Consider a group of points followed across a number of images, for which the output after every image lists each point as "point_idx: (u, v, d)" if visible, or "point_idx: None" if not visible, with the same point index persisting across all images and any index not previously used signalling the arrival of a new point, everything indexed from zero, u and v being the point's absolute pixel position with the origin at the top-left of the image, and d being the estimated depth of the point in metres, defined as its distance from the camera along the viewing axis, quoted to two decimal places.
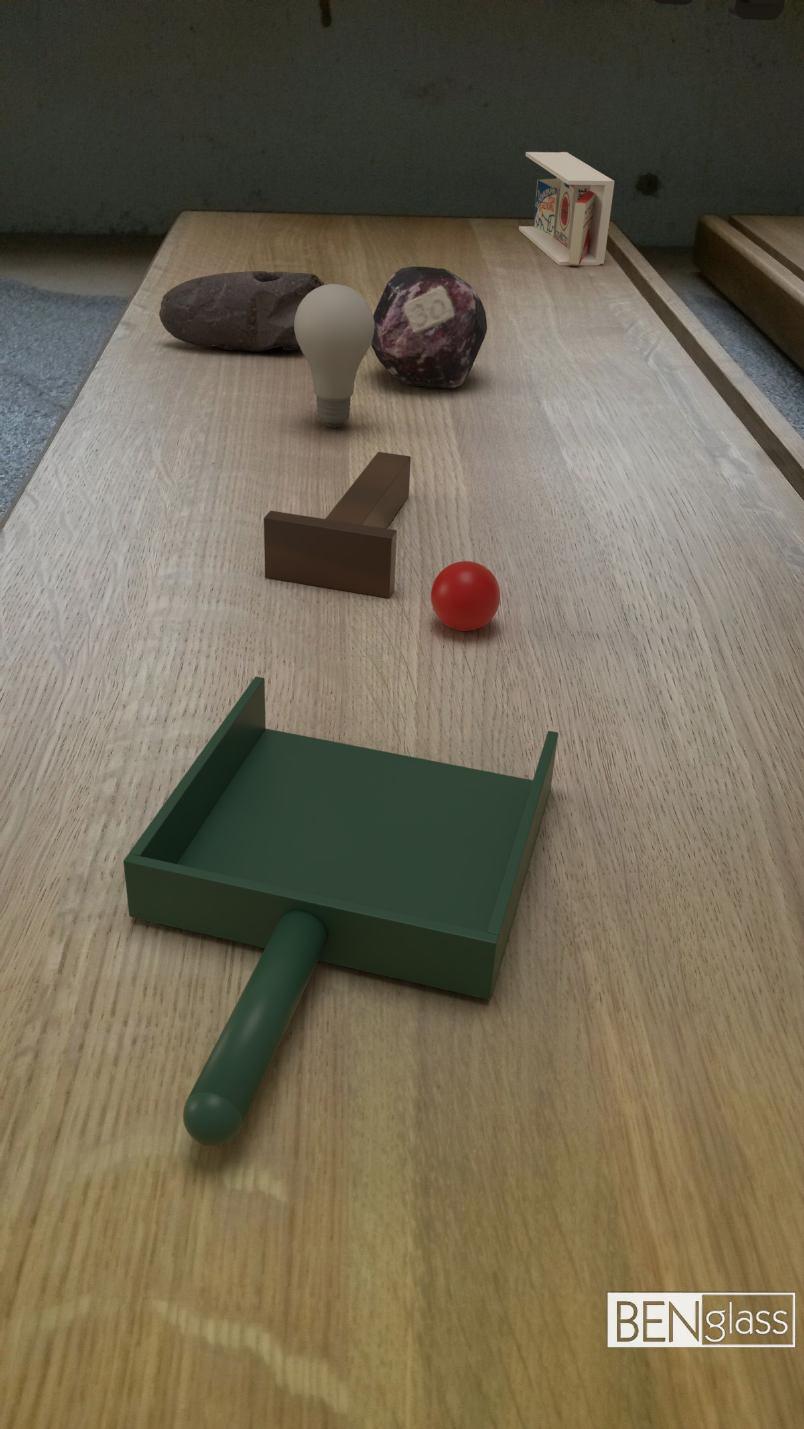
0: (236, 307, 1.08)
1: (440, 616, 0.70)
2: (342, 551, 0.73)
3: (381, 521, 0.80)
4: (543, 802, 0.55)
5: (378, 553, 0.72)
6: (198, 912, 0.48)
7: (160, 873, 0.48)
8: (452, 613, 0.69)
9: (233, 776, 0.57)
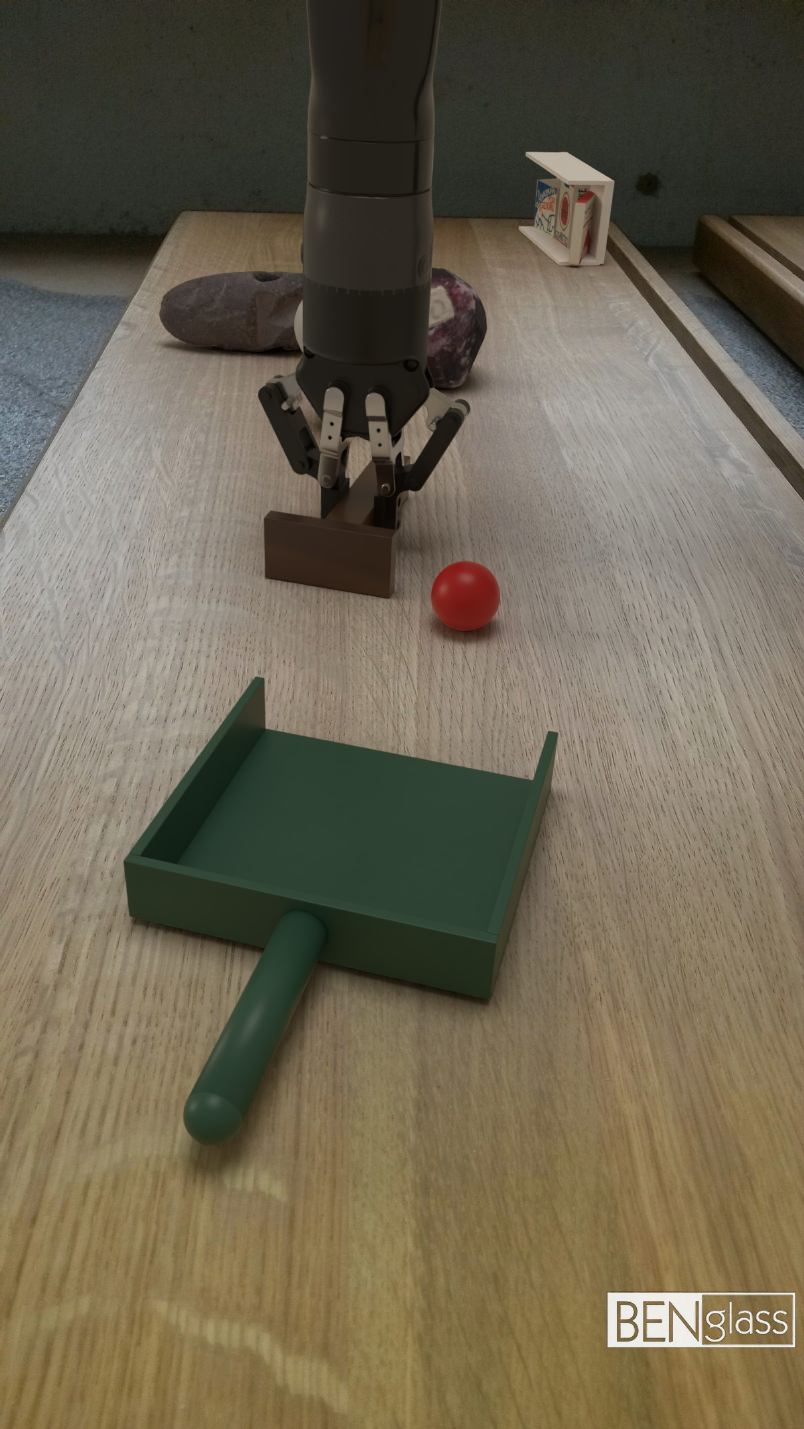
0: (236, 307, 1.08)
1: (440, 616, 0.70)
2: (342, 551, 0.73)
3: None
4: (543, 802, 0.55)
5: (378, 553, 0.72)
6: (198, 912, 0.48)
7: (160, 873, 0.48)
8: (452, 613, 0.69)
9: (233, 776, 0.57)
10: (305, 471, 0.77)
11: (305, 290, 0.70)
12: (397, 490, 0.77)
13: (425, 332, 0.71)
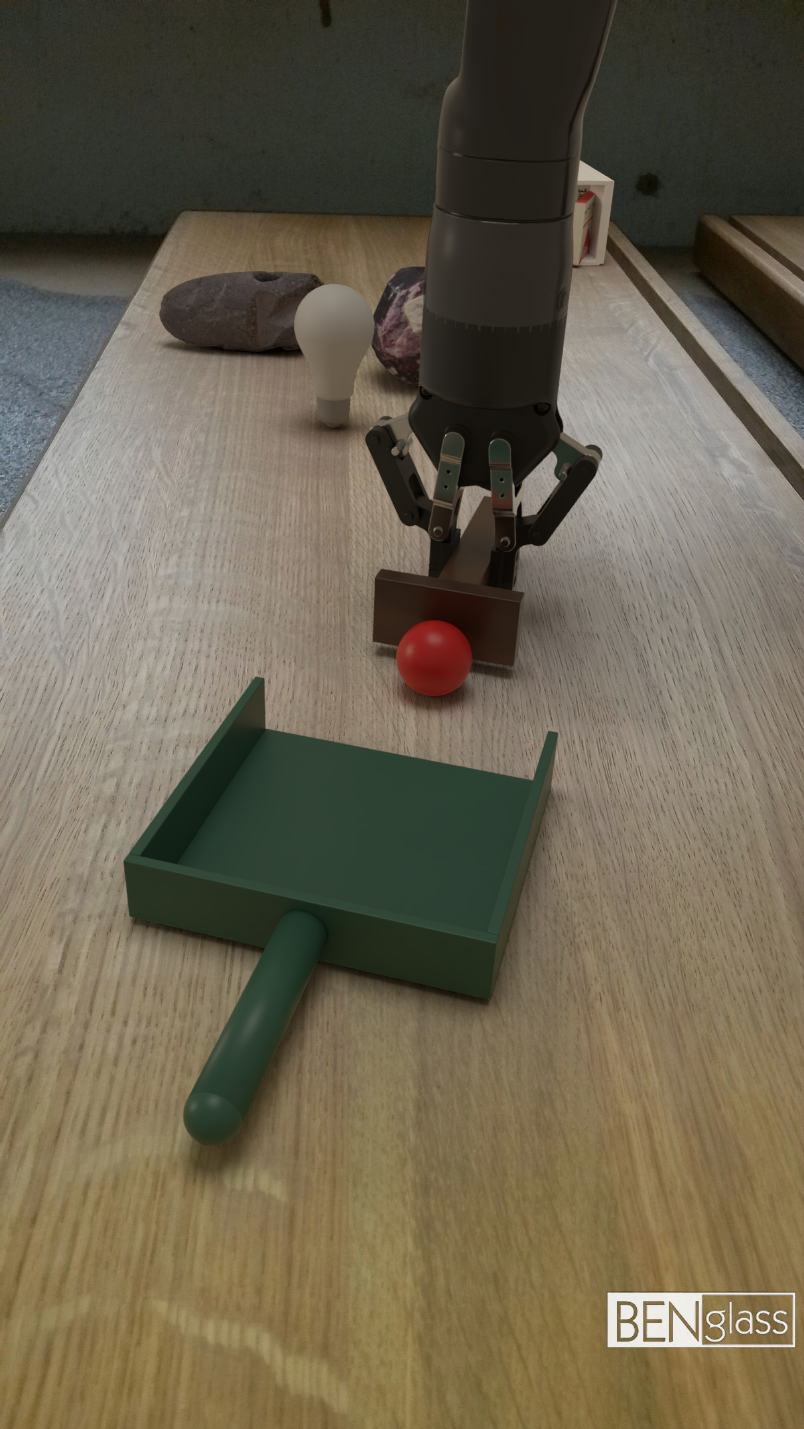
0: (236, 307, 1.08)
1: (420, 623, 0.64)
2: (463, 615, 0.65)
3: None
4: (543, 802, 0.55)
5: (504, 618, 0.65)
6: (198, 912, 0.48)
7: (160, 873, 0.48)
8: None
9: (233, 776, 0.57)
10: (414, 522, 0.70)
11: (427, 325, 0.62)
12: (517, 544, 0.69)
13: (559, 372, 0.64)
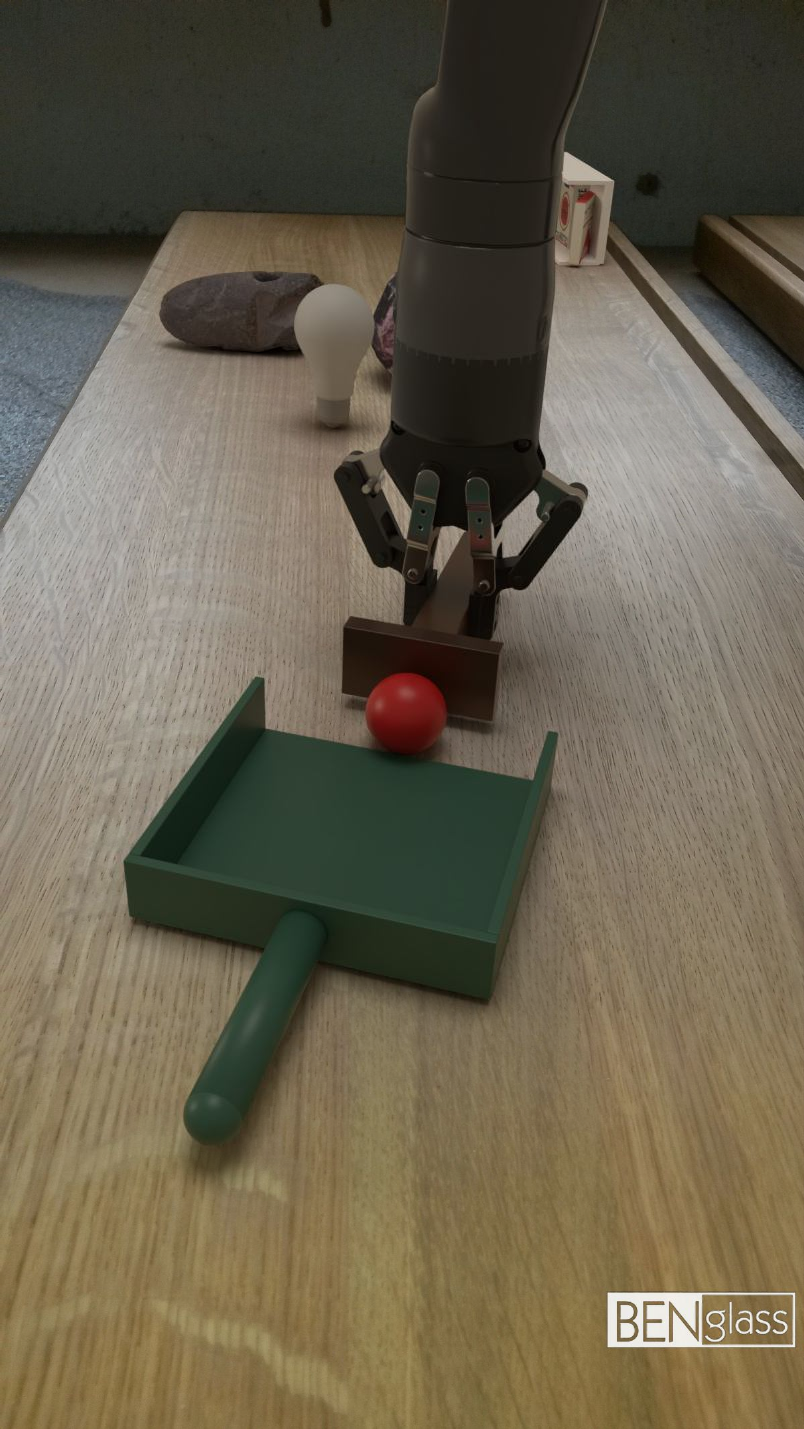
0: (236, 307, 1.08)
1: None
2: (437, 667, 0.61)
3: None
4: (543, 802, 0.55)
5: (482, 670, 0.60)
6: (198, 912, 0.48)
7: (160, 873, 0.48)
8: (389, 742, 0.58)
9: (233, 776, 0.57)
10: (387, 564, 0.65)
11: (398, 356, 0.58)
12: (497, 587, 0.65)
13: (540, 406, 0.59)
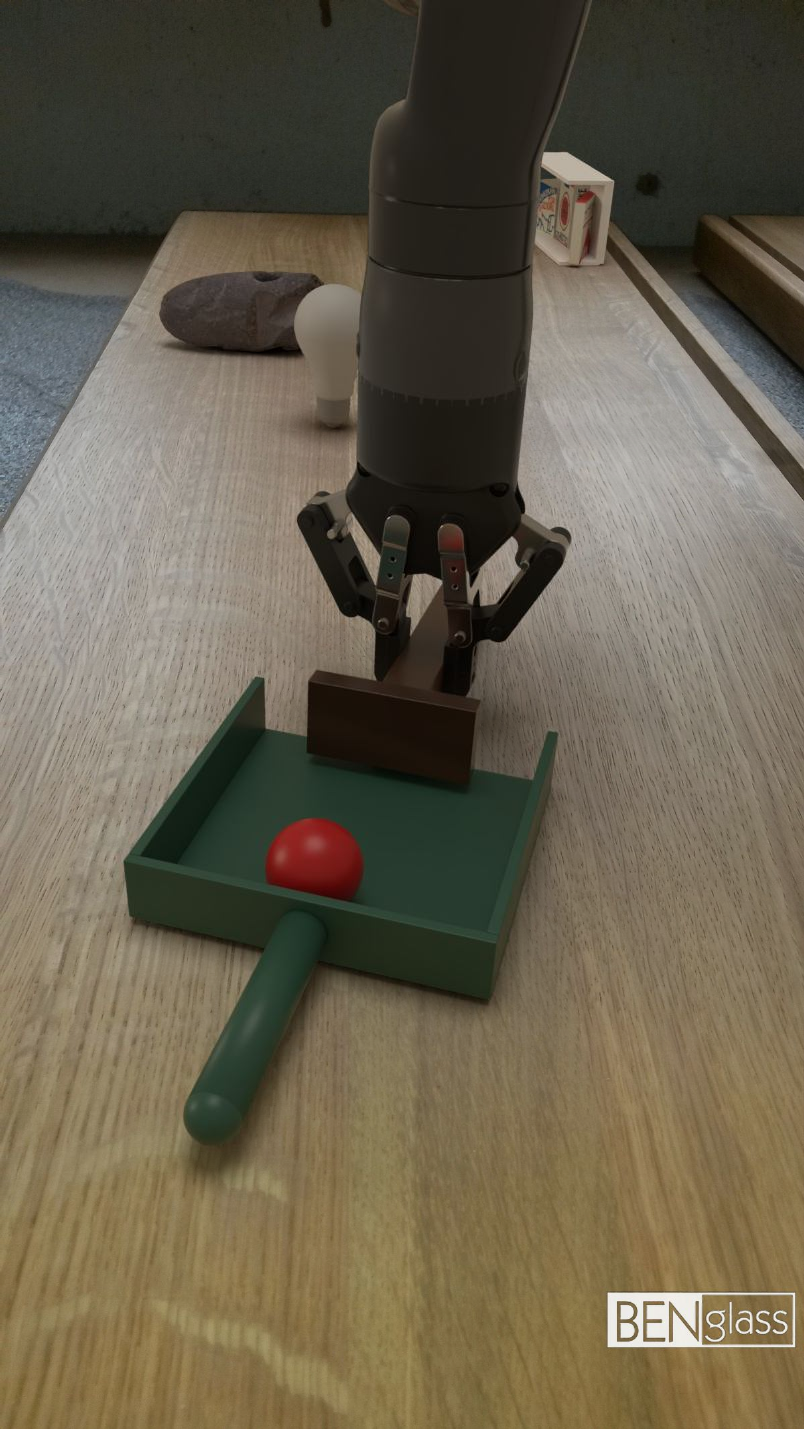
0: (236, 307, 1.08)
1: None
2: (409, 725, 0.56)
3: None
4: (543, 802, 0.55)
5: (457, 729, 0.56)
6: (198, 912, 0.48)
7: (160, 873, 0.48)
8: None
9: (233, 776, 0.57)
10: (356, 613, 0.60)
11: (362, 395, 0.53)
12: (474, 639, 0.60)
13: (518, 447, 0.55)
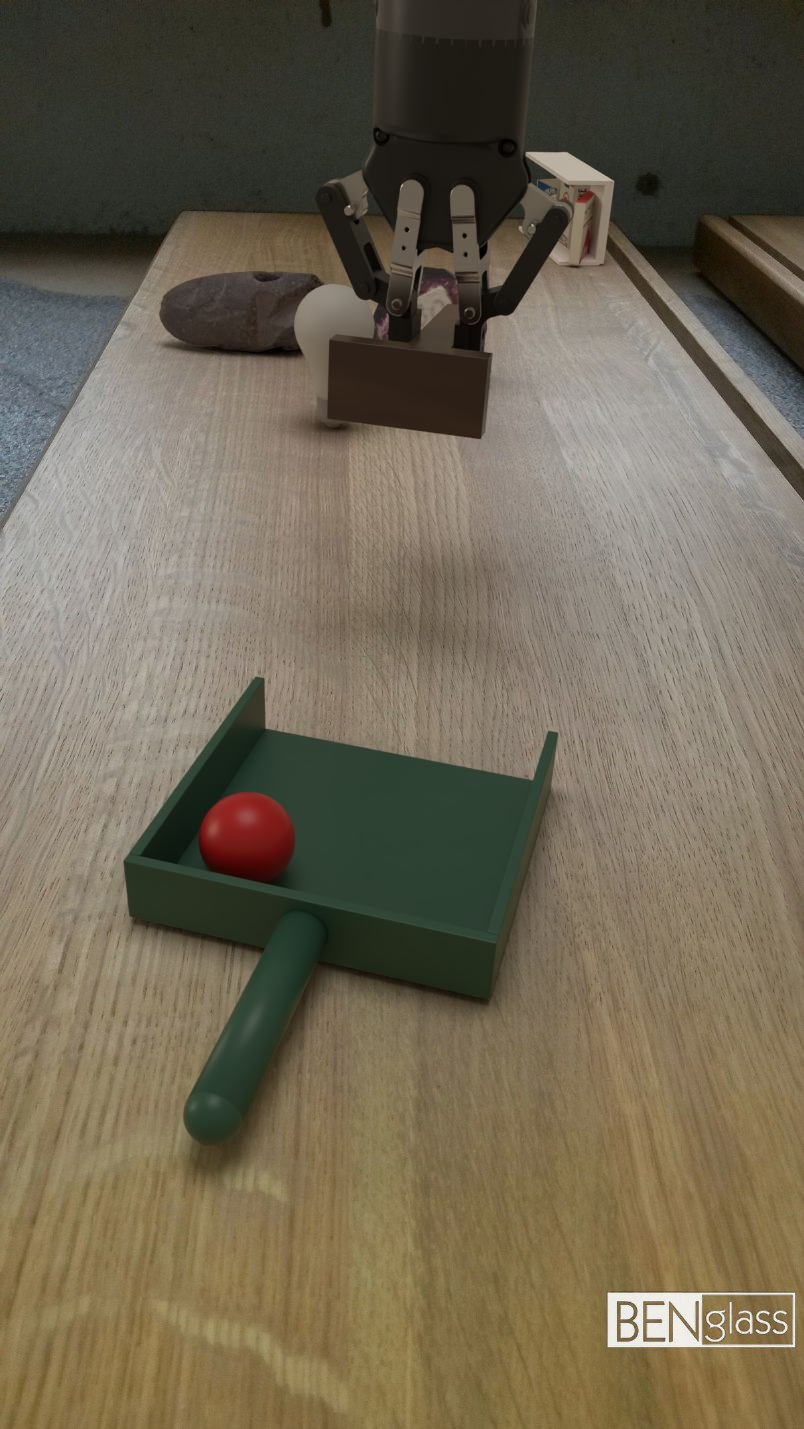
0: (236, 307, 1.08)
1: None
2: (425, 379, 0.60)
3: None
4: (543, 802, 0.55)
5: (470, 380, 0.59)
6: (198, 912, 0.48)
7: (160, 873, 0.48)
8: (225, 864, 0.49)
9: (233, 776, 0.57)
10: (371, 295, 0.64)
11: (380, 49, 0.57)
12: (483, 316, 0.64)
13: (525, 106, 0.58)
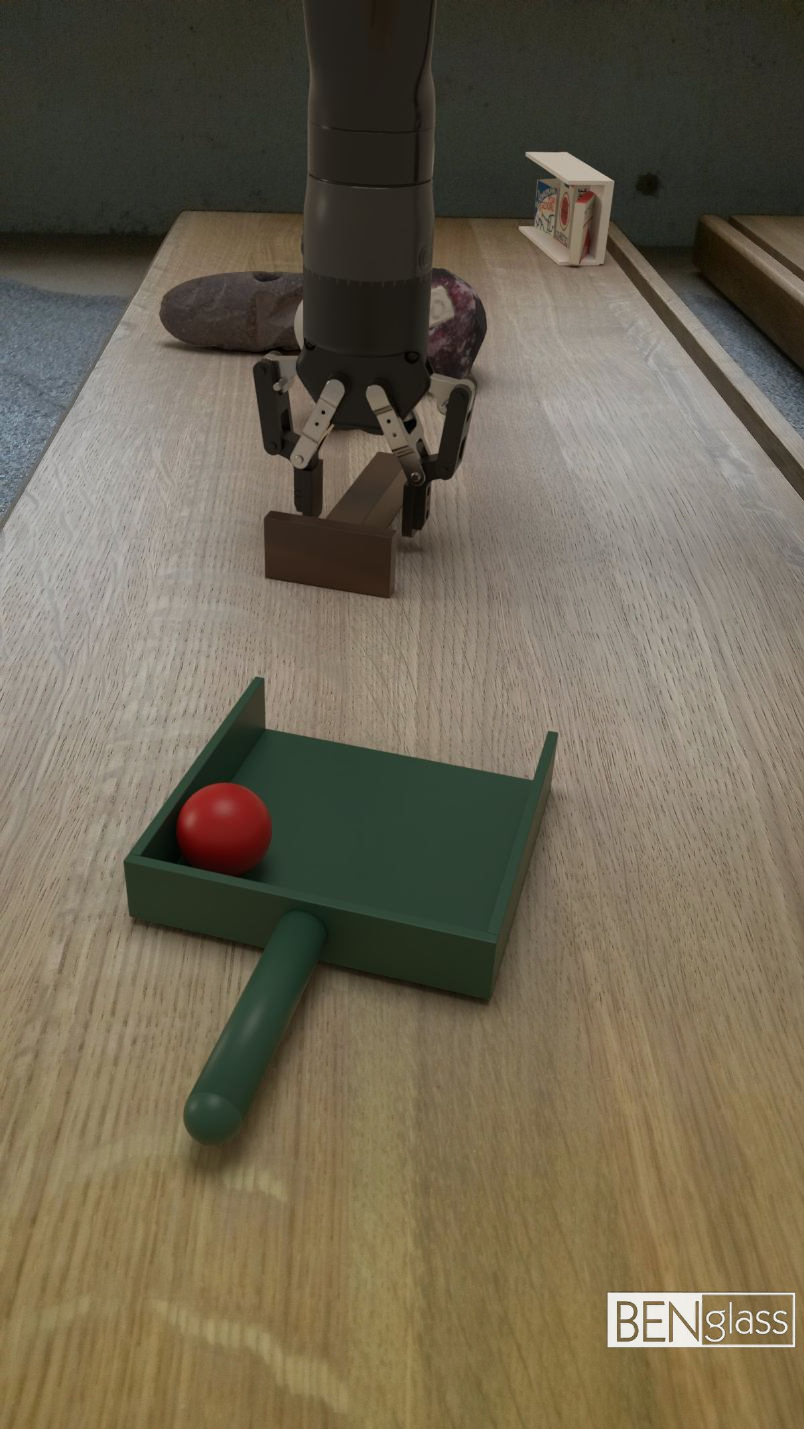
0: (236, 307, 1.08)
1: (223, 858, 0.49)
2: (342, 551, 0.73)
3: (381, 521, 0.80)
4: (543, 802, 0.55)
5: (378, 553, 0.72)
6: (198, 912, 0.48)
7: (160, 873, 0.48)
8: (198, 849, 0.49)
9: (233, 776, 0.57)
10: (276, 453, 0.77)
11: (305, 281, 0.70)
12: (427, 479, 0.76)
13: (426, 324, 0.71)
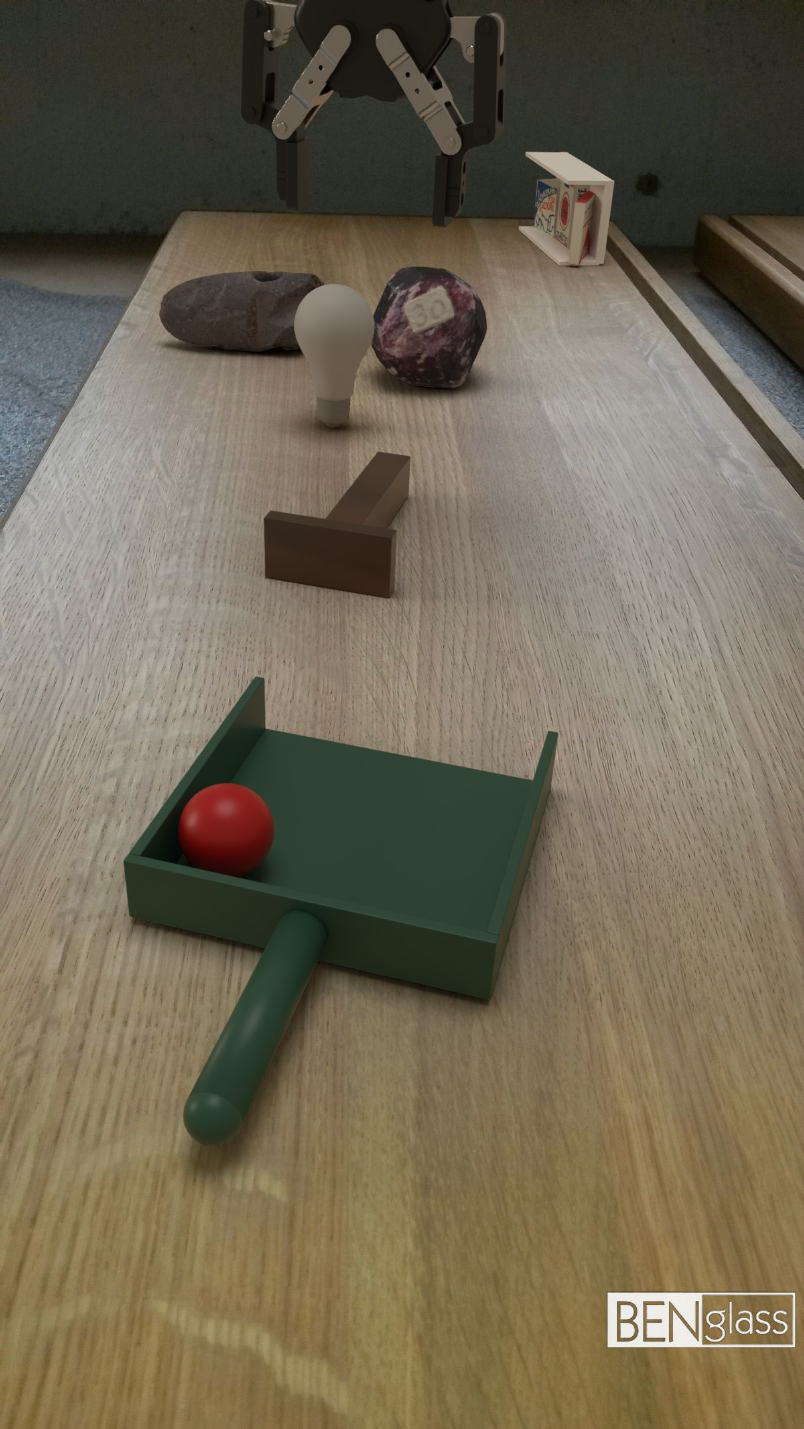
0: (236, 307, 1.08)
1: (225, 859, 0.49)
2: (342, 551, 0.73)
3: (381, 521, 0.80)
4: (543, 802, 0.55)
5: (378, 553, 0.72)
6: (198, 912, 0.48)
7: (160, 873, 0.48)
8: (200, 850, 0.49)
9: (233, 776, 0.57)
10: (254, 121, 0.67)
11: None
12: (463, 147, 0.65)
13: None
